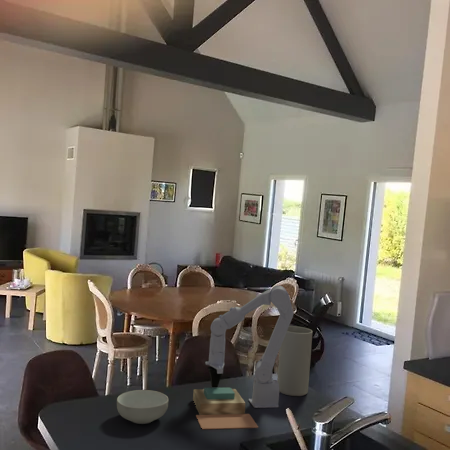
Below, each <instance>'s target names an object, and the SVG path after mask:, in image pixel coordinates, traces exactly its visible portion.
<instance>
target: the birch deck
mask: <svg viewBox="0 0 450 450" xmlns="http://www.w3.org/2000/svg"><path fill="white" fill-rule="evenodd" d="M231 389H232V390H233V391H234V393H235V397H234V399H206V397H205V395H204V388H203V389H201V388H199V389H193V392H192V393H193V395H192V396H193V397H192V402H193V401H194V402H193V403H195V404H194V405H196V406H195V409H196V410H197V412H198V415H219V414H246V402H245V400H244V398H242V396H241V395H240V393H239V392H238V390H237V389H236V388H231Z"/></svg>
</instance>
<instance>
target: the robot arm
mask: <svg viewBox="0 0 450 450" xmlns="http://www.w3.org/2000/svg"><path fill="white" fill-rule="evenodd" d="M291 301H292V300H291V298H290V294H289V293H288V291H287V289H286V288H285V287H284V286H282V285H275V286H273V287H272V288H269V289H267V290H265V291H263V292H262V293H260V294H258V295H257V296H255V297H254V298H253V299H251V300H250V301H248V302H247V303H245V304H244V305H242V306H241V307H239V306H234V307H233V306H232V307H230V308H229V309H228V311H227V312H225V313H224V314H220V315H218V317H216V318H214V320H213V321H212V322H211V324H210V332H211V333H210V338H209V352H208V354H209V355H208V361H205V365H206V366H207V370H208V373H209V377H210V385H211V388H219V387H218V386H219V385H220V380H221V378H222V375H223V374H224V372H225V369H224V367H225V355H226V354H225V353H226V332H227V330H231V329H232V328H233V327H235V326H236V325H238V324H240V323H241V322H243V321H244V320H245V317H246V315H248V314H249V313H251V312H253V311H254V310H256V309H258V308H260V307H262V306H263V305H265V306H271V305H272V304H273V306H274V307H275V308H276V309H277V311H278V313H279V316H278V319H277V320H276V322H275V326H274V328H273V330H272V333H271V335H270V338H269V340H268V343H267V345H266V348H265V350H264V353H263V354H262V356H261V358H260V359H259V360H258V361H257V362H256V364H255V371H254V377H253V383H252V394H251V395H252V396H251V397H252V398H248V402H249V403H250V404H251V406H252V407H253V408H255V409H256V408H257V409H259V408H260V409H261V408H262V409H264V408H265V409H267V408H280V405H279V403H280V402H279V401H280V400H279V399H280V392H279V383H278V381H277V380H275V379H274V378H273V370H274V365H275V362H276V359H277V357H278V354H279V351H280V347H281V345H282V342H283V340H284V337H285V335H286V332H287V330H288V327H289V326H291V322H292V320H293V317H294V311H293V306H292V305H293V304H292V302H291Z"/></svg>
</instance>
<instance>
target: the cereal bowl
mask: <svg viewBox="0 0 450 450" xmlns="http://www.w3.org/2000/svg"><path fill="white" fill-rule="evenodd" d="M168 407H169V397H168V396H167V395H166V394H164V393H163V392H160V391H156V390H148V389H136V390H129V391H125V392H123V393H121V394H120V395H118V397H117V398H116V409H117V411H118V414H119V415H120V416H121V417H122V418H123V419H125V420H128V421H130V422H132V423H134V424H137V425H138V424H139V425H140V424H141V425H144V424H150V423H151V422H154V421H156V420H158V419H160V418H161V417H162V416H164V415H165V413H166V412H167V410H168Z"/></svg>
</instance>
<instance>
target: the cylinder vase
mask: <svg viewBox="0 0 450 450" xmlns="http://www.w3.org/2000/svg"><path fill="white" fill-rule="evenodd" d="M312 341H313V330H312V329H310V328H307V327H303V326H297V325H295V326H293V325H289V327H288V330H287V332H286V335H285V337H284V340H283V342H282V345H281V347H280V349H279V352H278V354H279V355H278V365H277V366H278V367H277V381H278V383H279V394H280V393H281V394H283V395H286V396H291V397H302V396H305V395H307V394H308V392H309V383H310V382H309V381H310V372H311V371H310V367H311V357H312V356H311V355H312Z"/></svg>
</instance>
